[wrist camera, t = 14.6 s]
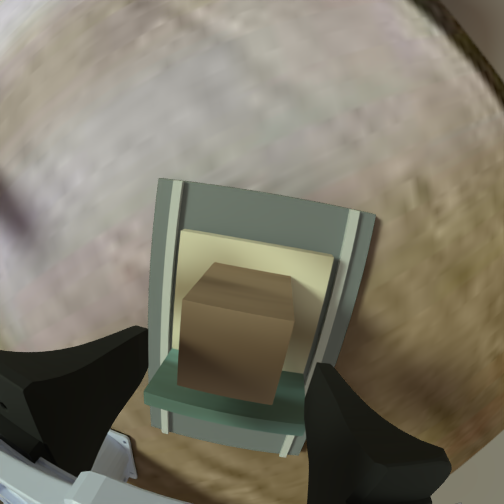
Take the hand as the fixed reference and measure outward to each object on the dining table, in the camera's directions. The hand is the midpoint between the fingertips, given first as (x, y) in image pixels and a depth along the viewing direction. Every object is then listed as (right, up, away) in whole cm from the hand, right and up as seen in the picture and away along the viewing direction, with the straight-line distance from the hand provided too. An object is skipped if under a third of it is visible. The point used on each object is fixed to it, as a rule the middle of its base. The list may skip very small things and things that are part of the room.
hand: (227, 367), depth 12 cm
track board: (0, -2, +9) cm, 10 cm away
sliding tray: (+1, +1, +9) cm, 9 cm away
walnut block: (+1, +2, +6) cm, 6 cm away
